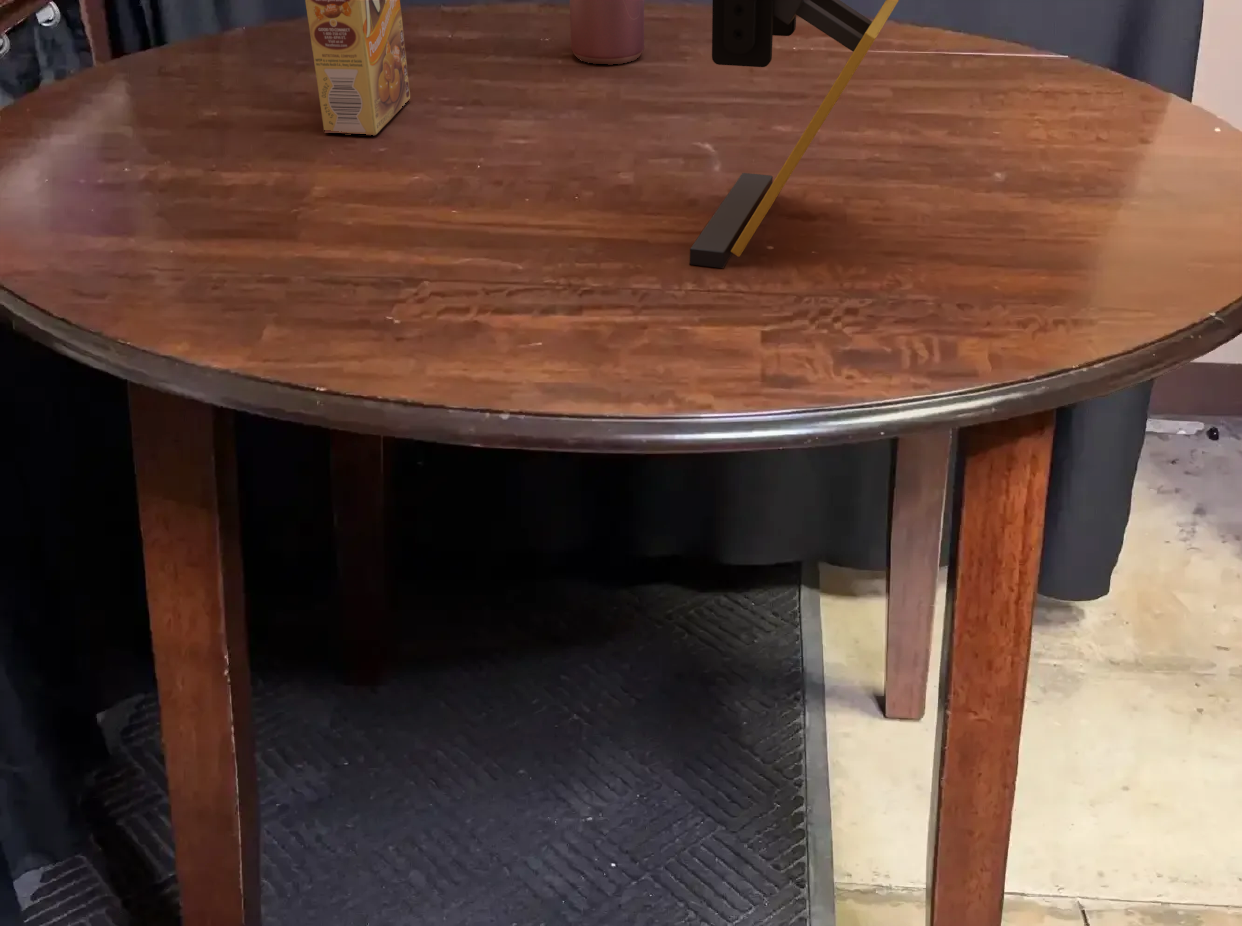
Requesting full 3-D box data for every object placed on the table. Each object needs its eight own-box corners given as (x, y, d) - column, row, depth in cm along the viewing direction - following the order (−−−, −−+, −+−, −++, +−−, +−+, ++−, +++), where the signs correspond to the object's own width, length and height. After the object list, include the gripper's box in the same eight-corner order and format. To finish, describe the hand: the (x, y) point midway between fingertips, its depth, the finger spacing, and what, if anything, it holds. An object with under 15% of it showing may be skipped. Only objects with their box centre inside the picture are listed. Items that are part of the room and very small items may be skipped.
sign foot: (772, 190, 90) (773, 175, 89) (723, 268, 80) (724, 252, 79) (741, 187, 90) (742, 172, 90) (689, 265, 80) (689, 248, 80)
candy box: (378, 138, 99) (351, -102, 90) (320, 136, 99) (287, -103, 90) (412, 100, 106) (391, -126, 97) (358, 98, 106) (332, -127, 97)
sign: (908, -16, 80) (821, -74, 80) (875, 38, 71) (777, -26, 70) (782, 186, 89) (704, 135, 89) (738, 257, 80) (650, 201, 79)
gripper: (808, -329, 61) (789, 98, 71) (871, -348, 74) (847, 14, 84) (641, -326, 62) (647, 89, 73) (731, -345, 76) (726, 8, 86)
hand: (754, 45), depth 79 cm, fingers closed on sign, 5 cm apart
